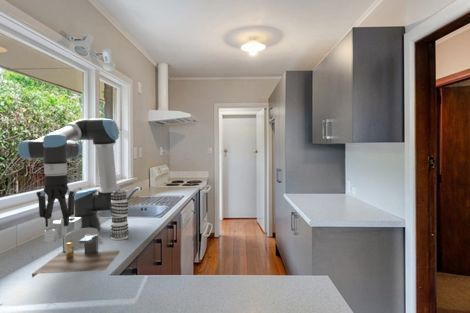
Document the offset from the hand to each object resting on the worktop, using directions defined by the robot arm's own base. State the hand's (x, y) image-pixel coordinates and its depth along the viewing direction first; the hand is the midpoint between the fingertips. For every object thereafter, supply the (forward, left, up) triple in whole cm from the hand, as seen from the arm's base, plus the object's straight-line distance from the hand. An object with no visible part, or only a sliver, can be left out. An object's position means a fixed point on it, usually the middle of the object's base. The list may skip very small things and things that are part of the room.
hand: (57, 234), depth 108 cm
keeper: (-11, +7, -14) cm, 19 cm away
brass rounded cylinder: (-10, 0, -14) cm, 17 cm away
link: (-3, 0, -1) cm, 4 cm away
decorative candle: (-39, +12, -15) cm, 43 cm away
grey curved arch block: (-26, -2, -15) cm, 30 cm away
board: (-6, +6, -14) cm, 16 cm away
